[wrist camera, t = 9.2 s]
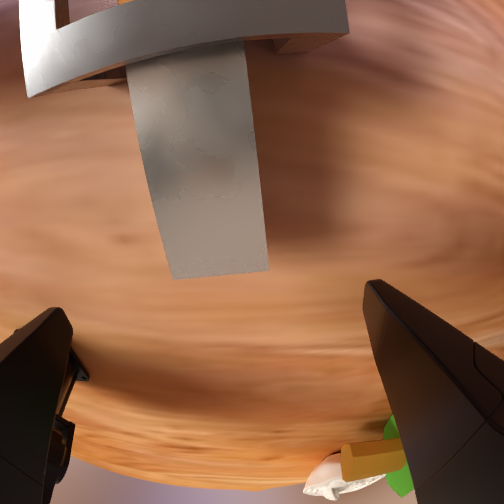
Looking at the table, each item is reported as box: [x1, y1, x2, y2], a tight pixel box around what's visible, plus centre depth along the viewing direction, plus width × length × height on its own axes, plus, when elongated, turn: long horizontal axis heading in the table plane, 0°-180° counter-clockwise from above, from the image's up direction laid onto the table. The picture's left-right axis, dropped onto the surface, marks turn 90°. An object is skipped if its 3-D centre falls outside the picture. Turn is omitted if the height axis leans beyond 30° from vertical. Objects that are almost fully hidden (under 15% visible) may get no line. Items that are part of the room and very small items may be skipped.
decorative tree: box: [340, 415, 414, 498], centre depth 27 cm, size 11×12×30 cm
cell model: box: [303, 453, 386, 500], centre depth 34 cm, size 10×12×7 cm
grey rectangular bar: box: [118, 0, 269, 280], centre depth 11 cm, size 20×4×5 cm, turn 6°
